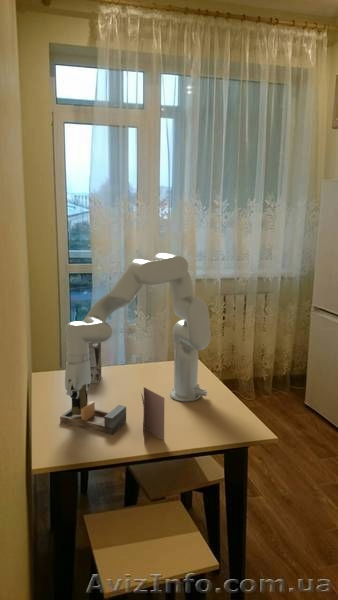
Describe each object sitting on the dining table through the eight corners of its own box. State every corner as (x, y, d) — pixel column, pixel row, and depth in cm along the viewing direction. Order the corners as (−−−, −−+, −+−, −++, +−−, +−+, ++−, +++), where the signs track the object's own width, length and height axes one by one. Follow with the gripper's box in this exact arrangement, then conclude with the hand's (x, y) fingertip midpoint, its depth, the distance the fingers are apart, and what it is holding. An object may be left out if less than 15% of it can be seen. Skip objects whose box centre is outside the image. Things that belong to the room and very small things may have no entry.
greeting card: (141, 427, 151) (141, 387, 148) (162, 426, 151) (162, 386, 148) (141, 444, 140) (141, 401, 137) (164, 444, 140) (164, 400, 137)
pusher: (94, 414, 158) (94, 401, 157) (83, 422, 151) (83, 409, 150) (92, 413, 158) (92, 400, 157) (81, 422, 152) (80, 409, 151)
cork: (80, 416, 152) (79, 386, 149) (67, 412, 155) (66, 383, 152) (91, 409, 157) (91, 381, 154) (79, 405, 160) (78, 377, 157)
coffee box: (98, 383, 189) (97, 347, 186) (83, 383, 190) (82, 347, 186) (101, 375, 198) (101, 341, 195) (87, 375, 198) (87, 341, 195)
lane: (126, 421, 155) (126, 406, 154) (112, 434, 146) (112, 418, 144) (76, 411, 162) (76, 396, 161) (60, 423, 153) (59, 407, 152)
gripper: (82, 348, 161) (84, 395, 164) (54, 362, 145) (57, 413, 149) (99, 351, 158) (101, 398, 161) (73, 365, 143) (75, 417, 146)
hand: (79, 405), depth 155 cm, fingers closed on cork, 3 cm apart
